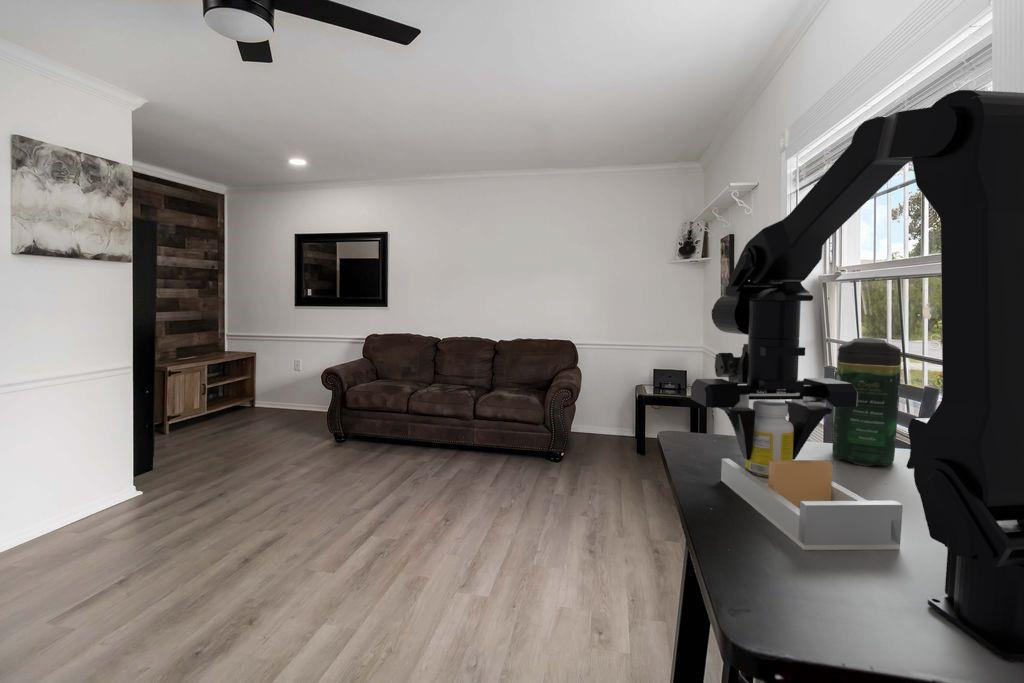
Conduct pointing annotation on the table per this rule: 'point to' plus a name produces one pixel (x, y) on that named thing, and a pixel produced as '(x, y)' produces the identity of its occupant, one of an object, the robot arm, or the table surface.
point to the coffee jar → (868, 402)
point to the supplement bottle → (770, 437)
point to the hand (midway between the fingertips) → (768, 458)
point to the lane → (821, 515)
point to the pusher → (801, 479)
